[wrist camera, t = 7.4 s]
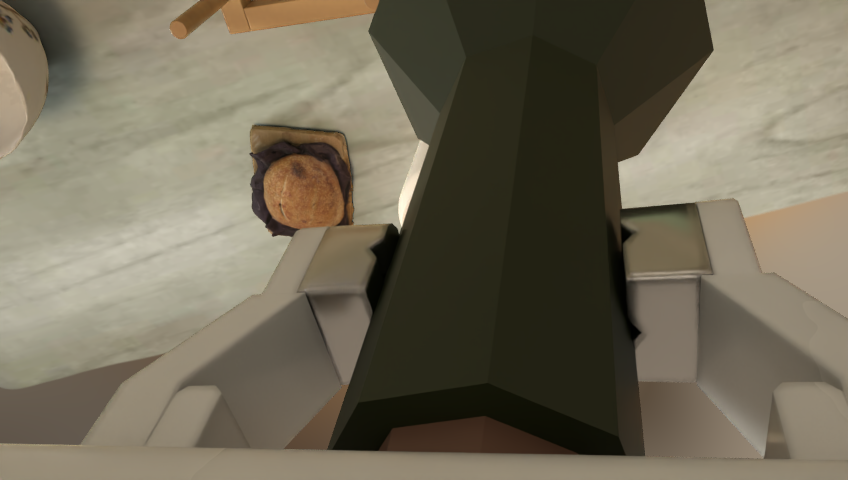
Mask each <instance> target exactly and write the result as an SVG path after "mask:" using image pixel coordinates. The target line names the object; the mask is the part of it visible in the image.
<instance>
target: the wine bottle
mask: <svg viewBox="0 0 848 480" xmlns="http://www.w3.org/2000/svg"><path fill="white" fill-rule="evenodd" d="M368 32H369V34H370V36H371V38H372V40H373V42H374V44H375V47H376V49H377V51H378V53H379V55H380V57H381V60H382V62H383V64H384V66H385V68H386V70H387V73H388V75H389V77H390V79H391V81H392V83H393V86H394V88H395V90H396V92H397V94H398V96H399V99H400V101H401V103H402V105H403V107H404V109H405V112H406V114H407V116H408V118H409V120H410V122H411V124H412V127H413V129H414V131H415V133H416V135H417V137H418V139H420V140H422V141H423V142H425V143H426V144H428V145H429V147H428V150H427V153H426V156H425V159H424V162H423V165H422V168H421V171H420V174H419V177H418V180H417V183H416V186H415V189H414V192H413V195H412V198H411V201H410V204H409V207H408V210H407V213H406V216H405V219H404V222H403V225H402V228H401V231H400V234H399V236H400V237H399V240H398V243H397V246H396V249H395V252H394V255H393V258H392V261H391V263H390V266H389V268H388V270H387V273H386V276H385V279H384V285H383V288H382V291H381V294H380V297H379V300H378V303H377V306H376V309H375V312H374V315H373V317H372V319H371V321H370V323H369V326H368V329H367V332H366V335H365V338H364V341H363V344H362V347H361V350H360V353H359V356H358V359H357V362H356V365H355V368H354V371H353V374H352V377H351V380H350V383H349V387H348V389H347V392H346V395H345V398H344V401H343V404H342V407H341V410H340V413H339V416H338V419H337V422H336V425H335V428H334V431H333V434H332V437H331V440H330V443H329V446H328V449H327V450H355V451H409V452H463V453H517V454H566V455H613V456H645V450H644V441H643V429H642V419H641V407H640V398H639V387H638V375H637V365H636V354H635V349H634V346H633V343H632V336H631V325H630V321H629V320H628V318H627V307H626V297H625V286H624V264H623V262H622V251H621V237H620V212H619V209H622V205H621V194H620V183H619V172H618V162H620V161H623V160H626V159H628V158H631V157H634V156H636V155H638V154H639V153H640V152H641V150H642V149H643V147H644V146H645V145H646V143H647V142H648V140H649V139H650V138H651V136H652V135H653V133H654V132H655V131H656V129H657V128H658V127H659V125H660V124H661V122H662V121H663V120H664V118H665V117H666V115H667V114H668V113H669V111H670V110H671V108H672V107H673V106H674V104H675V103H676V102H677V100H678V99H679V97H680V96H681V95H682V93H683V92H684V90H685V89H686V88H687V86H688V85H689V83H690V82H691V81H692V79H693V78H694V76H695V75H696V74H697V72H698V71H699V70H700V68H701V67H702V65H703V64H704V63H705V61H706V60H707V58H708V57H709V56H710V54H711V53H712V51H713V50H714V49H713V44H712V39H711V33H710V28H709V23H708V18H707V13H706V8H705V2H704V0H379V3H378V6H377V9H376V11H375V14H374V17H373V20H372V22H371V25H370V28H369V31H368Z"/></svg>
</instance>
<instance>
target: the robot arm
mask: <svg viewBox="0 0 848 480" xmlns="http://www.w3.org/2000/svg"><path fill="white" fill-rule="evenodd" d="M619 212H620V237H621V251H622V262H623V264H624V286H625V297H626V307H627V318H628V320H629V321H630V325H631V336H632V343H633V346H634V349H635V354H636V365H637V375H638V381H645V382H648V381H649V382H697V386H698V387H699V388H700V389H701V390H702V391H703V392H704V393H705V394H706V395H707V397H708V398H709V399H710V400H711V401H712V402H713V403H714V404H715V405H716V407H718V409H719V410H720V411H721V412H722V413H723V414H724V415H725V416H726V417H727V418H728V419H729V421H730V422H731V423H732V424H733V425H734V426H735V427H736V428H737V429H738V430H739V431H740V433H741V434H742V435H743V436H744V437H745V438H746V439H747V440H748V441H749V443H750V444H751V445H752V446H753V447H754V448H755V449H756V450H757V451H758V452H759V453H760V455H761V456H762V457H763V458H764V459H750V458H705V457H704V458H703V457H702V458H701V457H657V456H613V455H566V454H517V453H463V452H409V451H355V450H300V449H284V447H286V446H287V444H288V443H289V442H290V441H291V440H292V439H293V438H294V437H295V436H296V435H297V434H298V433H299V432H300V431H301V430H302V429H303V428H304V427H305V426H306V424H307V423H308V422H309V421H310V420H311V419H312V418H313V417H314V416H315V415H316V414H317V413H318V412H319V411H320V410H321V409H322V408H323V407H324V406H325V405H326V403H327V402H328V401H329V400H330V399H331V398H332V397H333V396H334V395H335V394H336V393H337V392H338V391H339V390H340V389H341V385H344V384H349V383H350V380H351V377H352V374H353V371H354V368H355V365H356V362H357V359H358V356H359V353H360V350H361V347H362V344H363V341H364V338H365V335H366V332H367V329H368V326H369V323H370V321H371V319H372V317H373V315H374V312H375V309H376V306H377V303H378V300H379V297H380V294H381V291H382V288H383V285H384V279H385V276H386V273H387V270H388V268H389V266H390V263H391V261H392V258H393V255H394V252H395V249H396V246H397V243H398V240H399V237H400V236H399V232H398V229H397V228H396V227H395V226H394V225H393V224H370V225H349V226H332V227H328V226H326V227H313V228H302V229H300V230H298V231H296V232H295V234H294V236H293V238H292V239H291V241H290V243H289V245H288V247H287V249H286V250H285V252H284V254H283V256H282V258H281V260H280V262H279V263H278V265H277V267H276V269H275V271H274V273H273V275H272V276H271V278H270V280H269V282H268V284H267V286H266V287H265V289H264V291H263V293H262V294H259V295H252V296H250V297H249V298H247V299H246V300H244V301H243V302H241V303H240V304H238V305H237V306H235V307H234V308H233V309H231V310H230V311H228V312H227V313H225V314H224V315H222V316H221V317H219V318H218V319H216V320H215V321H213V322H212V323H210V324H209V325H207V326H206V327H204V328H203V329H201V330H200V331H198V332H197V333H196V334H194V335H193V336H191V337H190V338H188V339H187V340H185V341H184V342H182V343H181V344H179V345H178V346H176V347H175V348H173V349H172V350H170V351H169V352H167V353H166V354H164V355H163V356H161V357H160V358H159V359H157V360H156V361H154V362H153V363H151V364H150V365H148V366H147V367H145V368H144V369H142V370H141V371H139V372H138V373H136V374H135V375H133V376H132V377H130V378H129V379H128V380H126V381H125V382H123V383H122V384H121V385H120V386H119V388H118V389H117V391H116V392H115V394H114V395H113V397H112V398H111V400H110V401H109V403H108V404H107V406H106V407H105V409H104V410H103V412H102V413H101V415H100V416H99V418H98V419H97V421H96V422H95V424H94V425H93V426H92V428H91V430H90V431H89V432H88V434H87V435H86V437H85V439H84V440H83V441H82V443H81V444H80V445H45V444H42V445H41V444H0V480H848V319H847V318H846V317H844V316H843V315H841V314H839V313H838V312H836V311H835V310H833V309H831V308H830V307H828V306H827V305H825V304H823V303H822V302H820V301H818V300H817V299H816V298H814V297H812V296H810V295H809V294H808V293H806V292H804V291H803V290H801V289H800V288H798V287H796V286H795V285H793V284H792V283H790V282H789V281H787V280H785V279H784V278H782V277H781V276H779V275H777V274H776V273H762V271H761V268H760V265H759V262H758V259H757V256H756V253H755V250H754V247H753V244H752V241H751V238H750V235H749V232H748V229H747V226H746V223H745V221H744V217H743V215H742V212H741V209H740V206H739V203H738V201H737V200H735V199H734V198H730V199H720V200H710V201H700V202H695V203H685V204H673V205H662V206H650V207H638V208H626V209H619Z"/></svg>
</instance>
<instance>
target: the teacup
mask: <svg viewBox="0 0 848 480" xmlns="http://www.w3.org/2000/svg"><path fill="white" fill-rule="evenodd" d="M48 83H49V72H48V63H47V58H46V54H45V51H44V49H43V46H42V44H41V41H40V39H39V35H38V32H37V31H36V29H35V28H34V27H33V25H32V24H31V23H30V22H29V21H28V20H27V19H25V18H24V17H23V16H21V15H20V14H19V13H18V12H17V11H15V10H14V9H13V8H12V7H11V6H9V5H8V4H6V3H5V2H3V1H1V0H0V159H1V158H3V157H5V156H6V155H8V154H10V153H11V152H13V151H14V150H15V149H16V148H17V146H18V145H19V144H20V142H21V141H22V140H23V138H24V137H25V136H26V135H27V133H28V132H29V131H30V130H31V128H32V127H33V125H34V124H35V122H36V120H37V119H38V117H39V115H40V113H41V111H42V109H43V106H44V103H45V100H46V96H47V92H48Z"/></svg>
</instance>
